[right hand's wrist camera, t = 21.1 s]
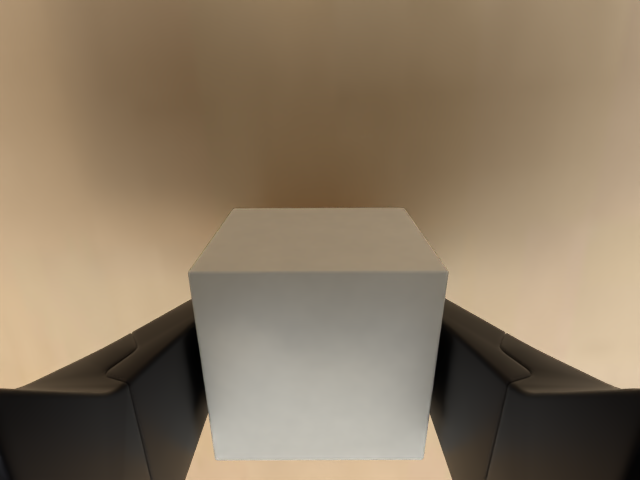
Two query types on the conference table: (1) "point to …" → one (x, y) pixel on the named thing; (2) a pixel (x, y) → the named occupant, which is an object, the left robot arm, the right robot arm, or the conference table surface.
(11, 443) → the right robot arm
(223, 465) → the conference table surface
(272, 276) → the block
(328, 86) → the conference table surface
